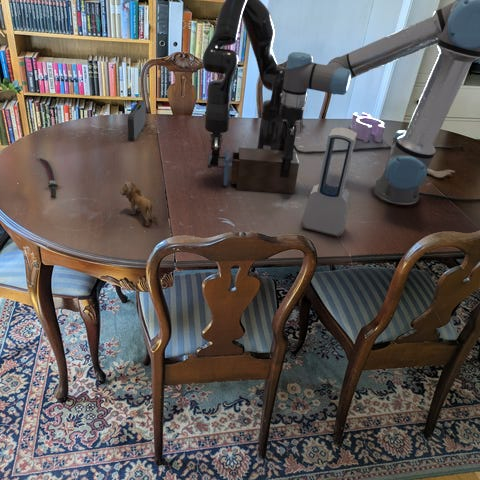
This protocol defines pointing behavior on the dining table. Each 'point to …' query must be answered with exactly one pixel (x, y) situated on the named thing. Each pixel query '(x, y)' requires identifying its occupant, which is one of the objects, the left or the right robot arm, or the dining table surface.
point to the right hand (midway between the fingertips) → (282, 170)
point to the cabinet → (265, 171)
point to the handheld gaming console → (136, 120)
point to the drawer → (227, 166)
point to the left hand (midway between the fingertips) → (214, 165)
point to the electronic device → (330, 192)
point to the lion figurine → (137, 201)
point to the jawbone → (439, 173)
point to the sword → (52, 181)
